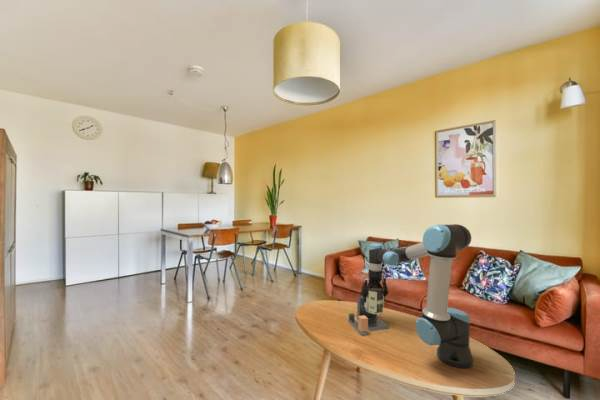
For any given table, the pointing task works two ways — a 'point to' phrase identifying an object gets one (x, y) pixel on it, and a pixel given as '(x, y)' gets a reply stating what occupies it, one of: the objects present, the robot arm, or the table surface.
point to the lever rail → (355, 324)
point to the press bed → (370, 317)
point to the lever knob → (362, 323)
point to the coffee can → (375, 300)
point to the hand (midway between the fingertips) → (374, 306)
